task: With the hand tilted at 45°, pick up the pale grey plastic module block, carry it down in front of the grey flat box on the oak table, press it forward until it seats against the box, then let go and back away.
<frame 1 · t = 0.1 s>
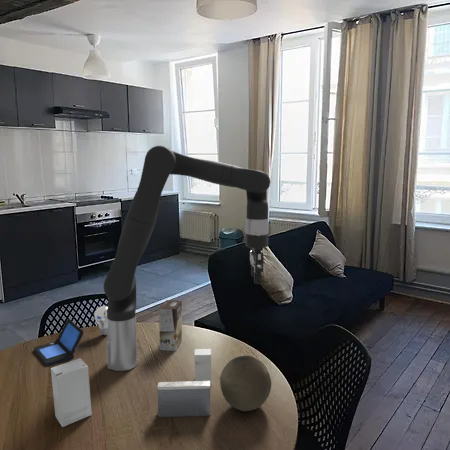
hand: (256, 279, 136), 29 cm above the table, tool pointing down, fingers open, 8 cm apart
grey flat box: (184, 413, 111), on the table
light bulb: (104, 335, 161), on the table
skincare box: (73, 417, 110), on the table
handheld game console: (59, 353, 147), on the table
coffee box: (171, 345, 152), on the table
module: (203, 381, 127), on the table
cantaloupe: (245, 409, 113), on the table
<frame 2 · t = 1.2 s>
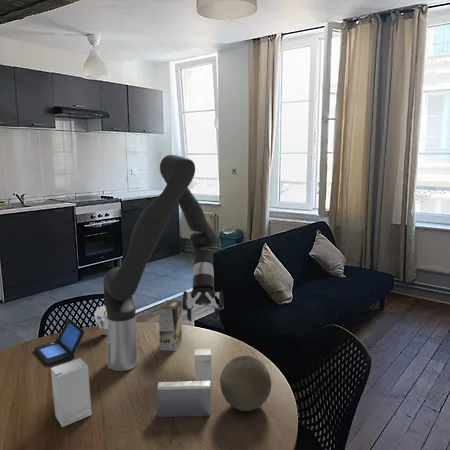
hand: (203, 320, 137), 15 cm above the table, tool tilted 45°, fingers open, 8 cm apart
nothing on the table moved.
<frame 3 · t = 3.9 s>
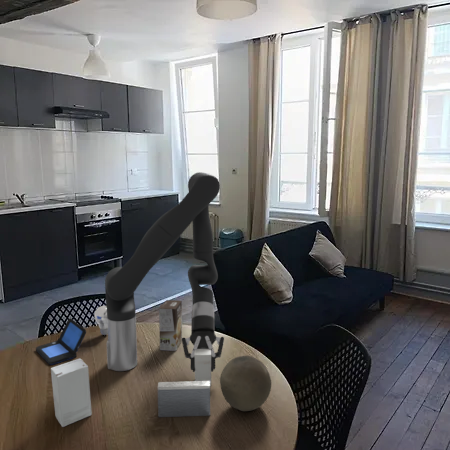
hand: (203, 370, 125), 5 cm above the table, tool tilted 45°, fingers closed on module, 5 cm apart
module: (203, 381, 127), on the table, touching gripper
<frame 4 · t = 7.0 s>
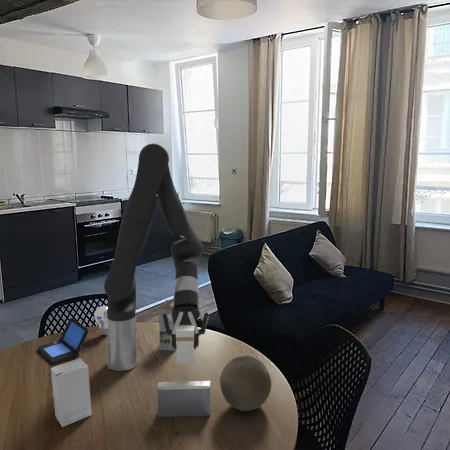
hand: (185, 348, 116), 16 cm above the table, tool tilted 45°, fingers closed on module, 5 cm apart
module: (186, 360, 118), point 11 cm above the table, touching gripper
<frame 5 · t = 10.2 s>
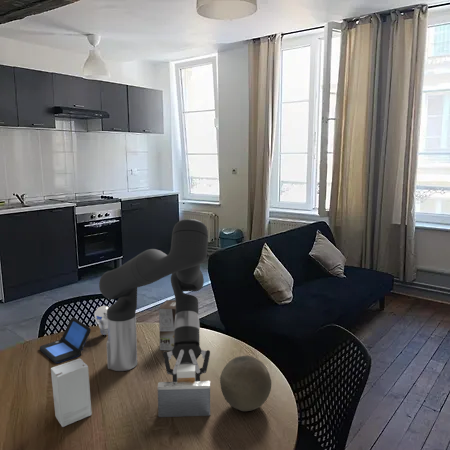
hand: (186, 388, 112), 6 cm above the table, tool tilted 45°, fingers closed on module, 5 cm apart
module: (186, 400, 115), point 2 cm above the table, touching gripper
when the fingers open (6 cm above the table, at t = 10.5 s): module drops 2 cm, on the table.
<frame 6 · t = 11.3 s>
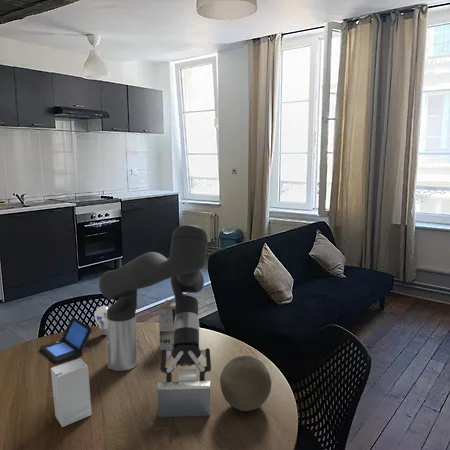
hand: (185, 387, 112), 7 cm above the table, tool tilted 45°, fingers open, 8 cm apart
module: (187, 405, 115), on the table
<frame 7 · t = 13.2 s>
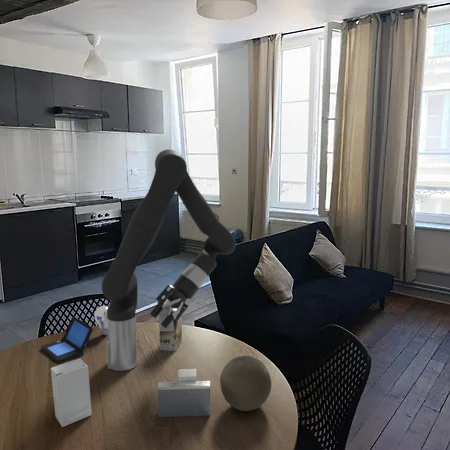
hand: (157, 321, 126), 19 cm above the table, tool tilted 50°, fingers open, 8 cm apart
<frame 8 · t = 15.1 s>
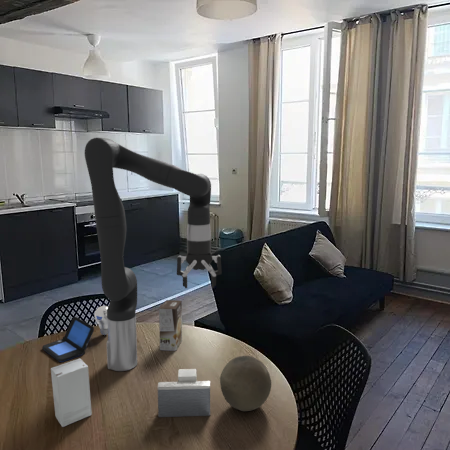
hand: (199, 287, 131), 28 cm above the table, tool pointing down, fingers open, 8 cm apart
at the end: module inside the target area (1.0 cm from its centre), on the table; module tilted 0°; the gripper is holding nothing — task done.
